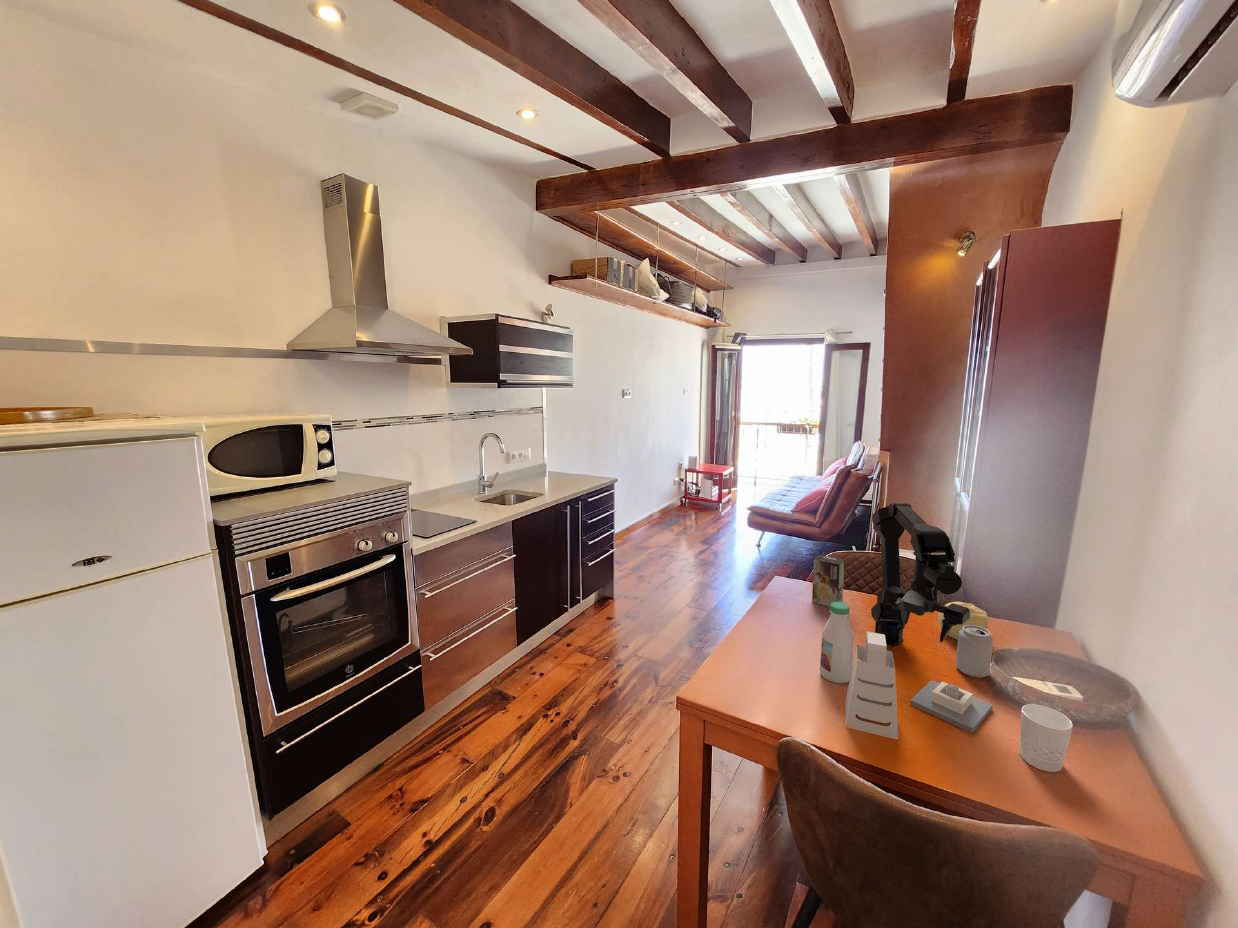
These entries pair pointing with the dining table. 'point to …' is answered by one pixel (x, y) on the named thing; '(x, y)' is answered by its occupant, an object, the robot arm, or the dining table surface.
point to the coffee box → (827, 580)
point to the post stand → (965, 721)
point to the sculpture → (976, 619)
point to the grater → (873, 688)
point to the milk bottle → (837, 645)
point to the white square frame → (951, 699)
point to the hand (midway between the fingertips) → (921, 634)
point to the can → (974, 651)
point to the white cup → (1044, 737)
